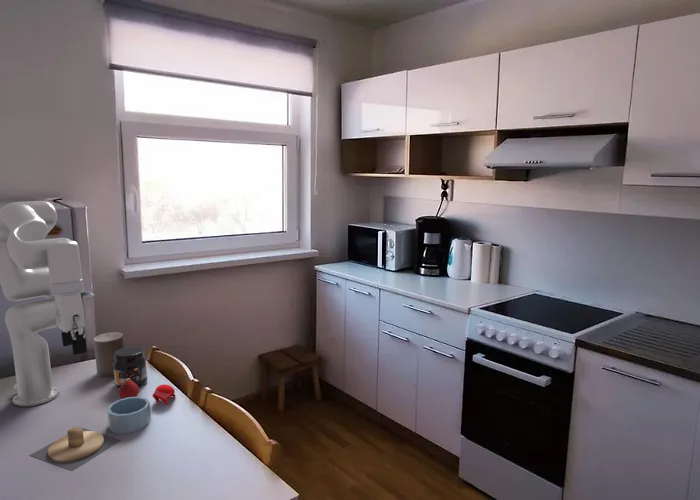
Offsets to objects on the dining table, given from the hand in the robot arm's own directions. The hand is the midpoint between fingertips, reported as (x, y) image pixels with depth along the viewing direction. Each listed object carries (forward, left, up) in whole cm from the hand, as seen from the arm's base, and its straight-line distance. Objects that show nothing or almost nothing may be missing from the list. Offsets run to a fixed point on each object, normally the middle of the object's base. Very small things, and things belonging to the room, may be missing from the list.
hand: (74, 349), depth 134 cm
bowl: (+7, +10, -26) cm, 28 cm away
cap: (+6, +25, -26) cm, 36 cm away
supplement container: (-14, +30, -26) cm, 42 cm away
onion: (-4, +20, -26) cm, 33 cm away
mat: (+4, -5, -26) cm, 27 cm away
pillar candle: (-28, +34, -26) cm, 51 cm away
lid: (+4, -5, -25) cm, 26 cm away
